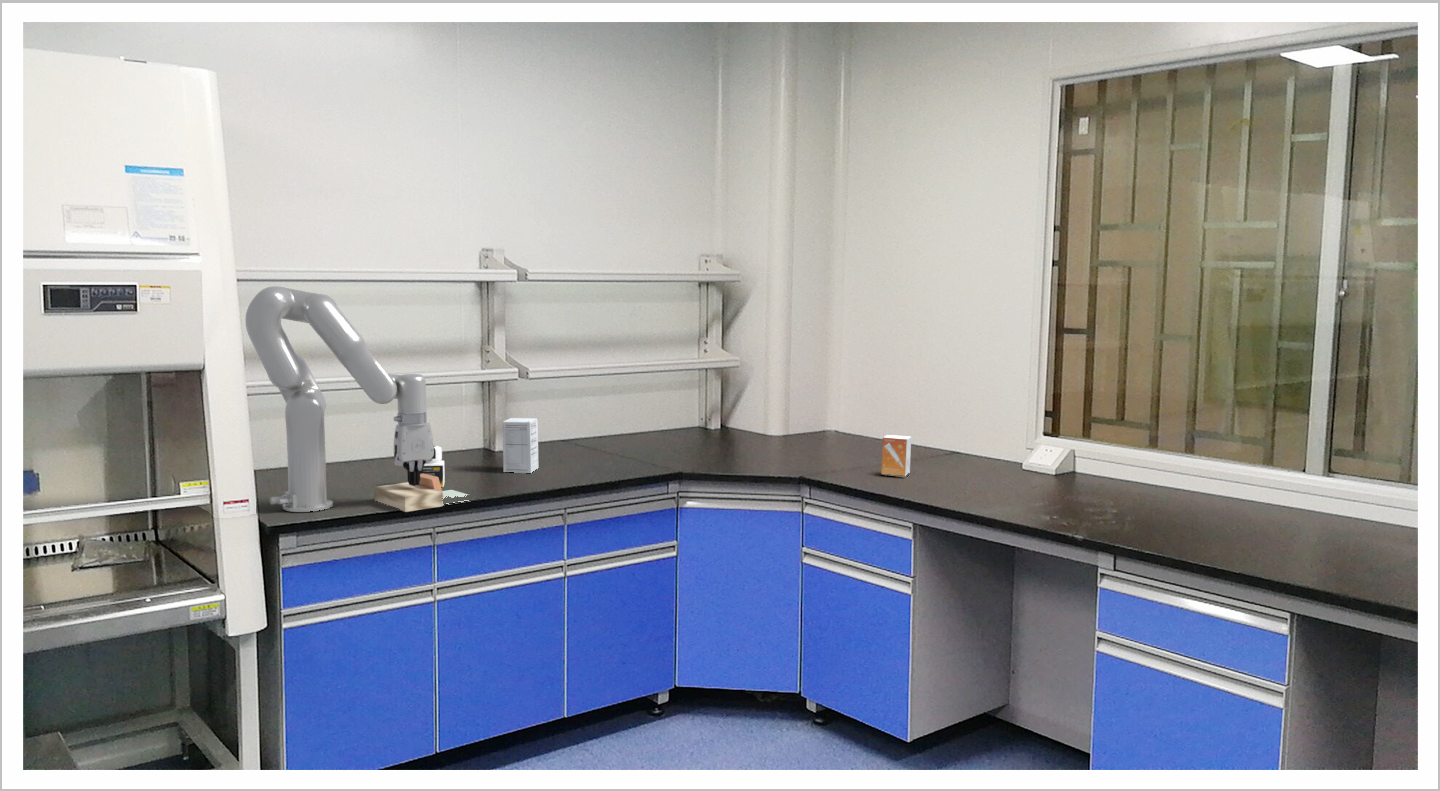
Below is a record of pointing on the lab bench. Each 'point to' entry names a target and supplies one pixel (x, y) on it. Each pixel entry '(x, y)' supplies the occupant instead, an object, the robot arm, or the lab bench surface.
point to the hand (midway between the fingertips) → (414, 484)
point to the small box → (896, 455)
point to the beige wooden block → (408, 496)
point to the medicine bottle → (435, 466)
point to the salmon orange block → (430, 482)
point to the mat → (453, 494)
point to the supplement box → (520, 445)
